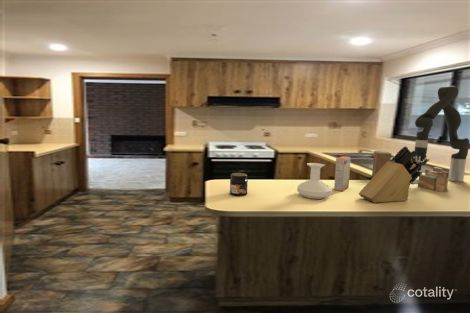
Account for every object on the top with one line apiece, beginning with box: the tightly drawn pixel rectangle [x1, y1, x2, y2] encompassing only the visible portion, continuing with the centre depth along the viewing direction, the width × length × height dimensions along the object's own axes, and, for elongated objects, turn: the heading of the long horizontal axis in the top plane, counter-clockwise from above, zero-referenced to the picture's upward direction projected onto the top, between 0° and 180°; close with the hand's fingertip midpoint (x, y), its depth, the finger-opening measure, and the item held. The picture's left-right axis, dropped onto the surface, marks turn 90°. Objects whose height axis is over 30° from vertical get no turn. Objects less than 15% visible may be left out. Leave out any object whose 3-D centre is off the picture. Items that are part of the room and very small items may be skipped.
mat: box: [410, 178, 419, 185], centre depth 231 cm, size 16×13×1 cm
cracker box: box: [333, 155, 352, 192], centre depth 201 cm, size 14×6×21 cm, turn 145°
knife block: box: [358, 145, 424, 204], centre depth 179 cm, size 11×35×31 cm, turn 107°
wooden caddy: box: [417, 171, 449, 193], centre depth 210 cm, size 14×16×12 cm
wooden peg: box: [424, 168, 446, 177], centre depth 207 cm, size 3×12×3 cm, turn 23°
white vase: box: [296, 162, 333, 200], centre depth 182 cm, size 20×20×19 cm
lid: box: [421, 166, 444, 179], centre depth 211 cm, size 15×11×7 cm
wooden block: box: [371, 150, 392, 178], centre depth 239 cm, size 10×10×20 cm
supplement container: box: [229, 172, 248, 197], centre depth 183 cm, size 10×10×12 cm
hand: (418, 170), depth 218 cm, fingers closed
